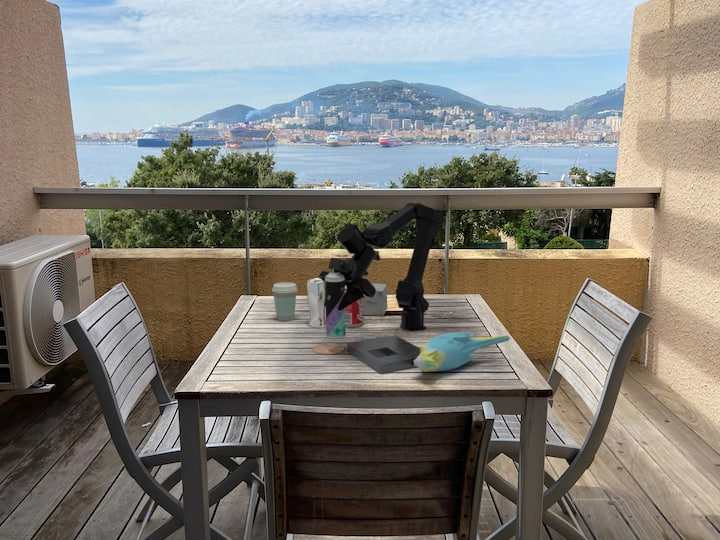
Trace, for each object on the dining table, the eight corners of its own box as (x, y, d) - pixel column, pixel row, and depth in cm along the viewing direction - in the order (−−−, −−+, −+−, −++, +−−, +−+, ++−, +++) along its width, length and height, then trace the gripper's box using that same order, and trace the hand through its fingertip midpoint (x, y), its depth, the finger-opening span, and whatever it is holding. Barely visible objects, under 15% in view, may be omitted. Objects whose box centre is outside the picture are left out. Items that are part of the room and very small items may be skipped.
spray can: (325, 339, 172) (324, 269, 167) (326, 333, 177) (325, 265, 173) (345, 339, 172) (344, 269, 167) (345, 333, 177) (344, 265, 173)
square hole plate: (395, 343, 183) (395, 335, 182) (432, 363, 165) (432, 355, 165) (346, 351, 176) (346, 342, 175) (380, 373, 158) (380, 364, 158)
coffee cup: (303, 317, 210) (302, 283, 208) (287, 323, 203) (286, 288, 201) (283, 314, 215) (282, 280, 212) (267, 320, 208) (266, 285, 205)
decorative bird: (395, 373, 159) (395, 339, 157) (469, 347, 178) (469, 317, 176) (435, 389, 148) (435, 353, 146) (508, 360, 168) (510, 327, 166)
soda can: (360, 328, 197) (360, 289, 195) (339, 327, 199) (338, 288, 196) (365, 322, 204) (364, 284, 202) (344, 321, 206) (343, 283, 203)
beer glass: (332, 323, 204) (331, 279, 201) (324, 328, 197) (323, 283, 194) (312, 321, 206) (311, 277, 203) (304, 327, 199) (303, 282, 196)
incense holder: (355, 316, 212) (354, 286, 210) (361, 310, 220) (361, 281, 218) (382, 318, 209) (382, 288, 207) (388, 311, 217) (388, 283, 215)
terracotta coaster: (336, 342, 183) (336, 341, 183) (349, 351, 175) (349, 350, 175) (308, 347, 179) (308, 345, 179) (320, 356, 171) (320, 355, 171)
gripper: (322, 243, 178) (294, 286, 173) (368, 250, 165) (338, 297, 160) (343, 265, 185) (316, 307, 180) (388, 274, 172) (360, 320, 167)
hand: (331, 307), depth 172 cm, fingers closed on spray can, 5 cm apart
